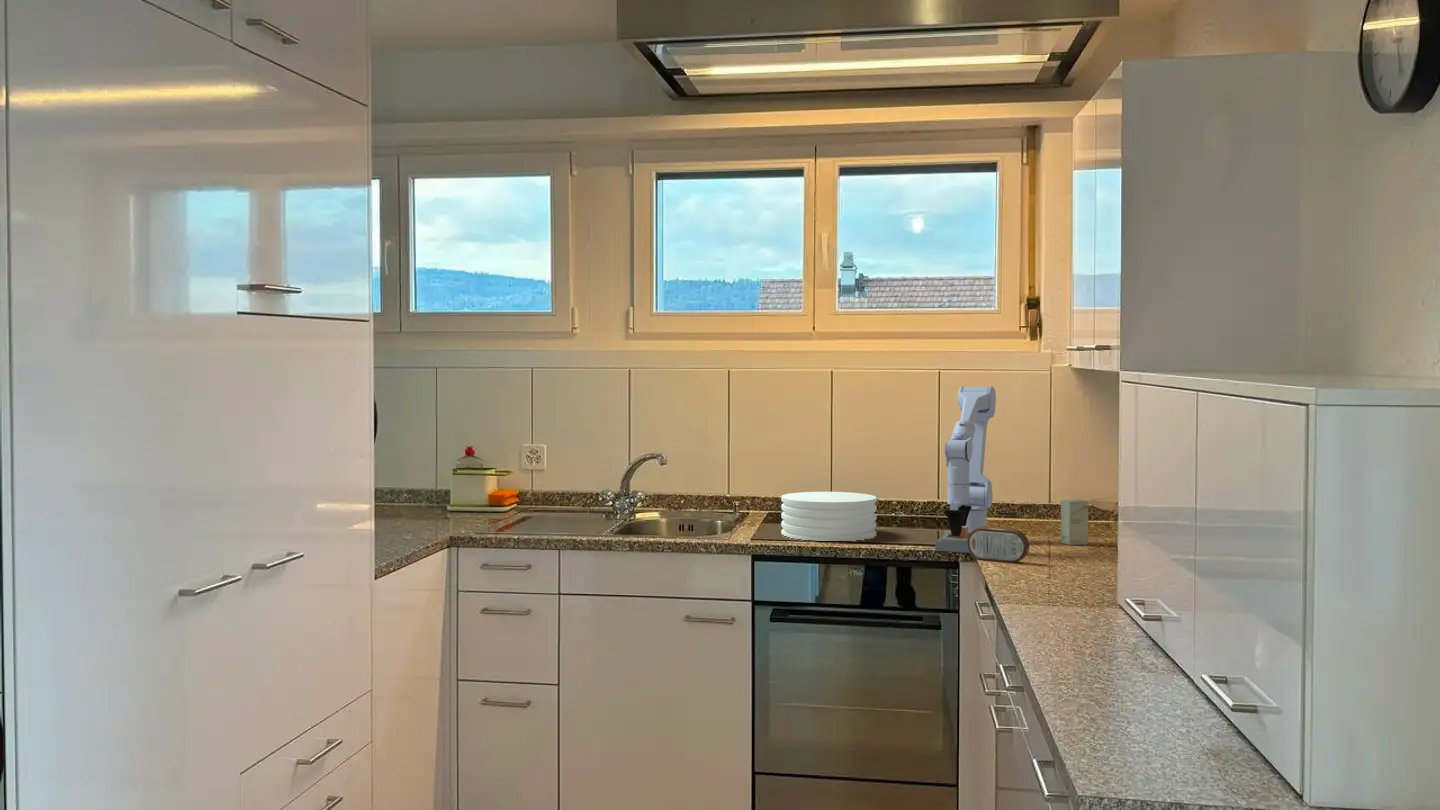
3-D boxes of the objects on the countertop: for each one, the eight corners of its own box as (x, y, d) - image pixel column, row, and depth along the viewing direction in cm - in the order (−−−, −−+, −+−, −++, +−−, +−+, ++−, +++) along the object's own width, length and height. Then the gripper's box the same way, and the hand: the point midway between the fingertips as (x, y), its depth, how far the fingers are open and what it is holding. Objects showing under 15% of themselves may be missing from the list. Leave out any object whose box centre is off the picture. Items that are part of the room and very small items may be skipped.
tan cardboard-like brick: (955, 547, 262) (955, 525, 262) (968, 548, 261) (968, 526, 261) (953, 549, 259) (953, 527, 259) (966, 550, 258) (966, 527, 258)
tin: (1029, 562, 239) (1029, 529, 239) (1026, 564, 237) (1026, 530, 236) (969, 557, 247) (969, 524, 247) (965, 559, 244) (965, 526, 244)
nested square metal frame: (943, 544, 268) (943, 530, 268) (980, 546, 264) (980, 532, 264) (935, 550, 257) (935, 536, 257) (973, 553, 253) (973, 538, 253)
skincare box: (1069, 545, 266) (1069, 501, 265) (1059, 543, 270) (1059, 499, 270) (1089, 544, 267) (1089, 500, 267) (1079, 542, 271) (1079, 498, 271)
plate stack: (883, 542, 271) (883, 502, 271) (783, 542, 272) (783, 502, 272) (869, 528, 299) (869, 491, 299) (779, 528, 300) (779, 491, 300)
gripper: (969, 486, 252) (969, 538, 252) (977, 482, 265) (977, 531, 265) (942, 485, 255) (942, 537, 255) (951, 481, 268) (951, 529, 268)
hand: (958, 534), depth 260 cm, fingers open, 7 cm apart
